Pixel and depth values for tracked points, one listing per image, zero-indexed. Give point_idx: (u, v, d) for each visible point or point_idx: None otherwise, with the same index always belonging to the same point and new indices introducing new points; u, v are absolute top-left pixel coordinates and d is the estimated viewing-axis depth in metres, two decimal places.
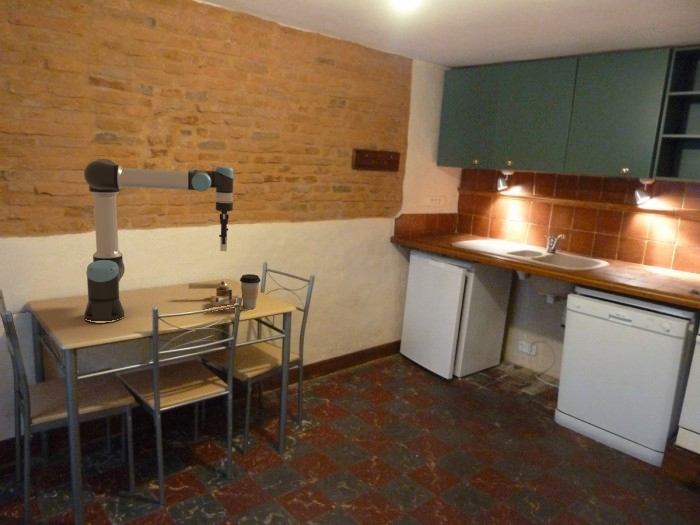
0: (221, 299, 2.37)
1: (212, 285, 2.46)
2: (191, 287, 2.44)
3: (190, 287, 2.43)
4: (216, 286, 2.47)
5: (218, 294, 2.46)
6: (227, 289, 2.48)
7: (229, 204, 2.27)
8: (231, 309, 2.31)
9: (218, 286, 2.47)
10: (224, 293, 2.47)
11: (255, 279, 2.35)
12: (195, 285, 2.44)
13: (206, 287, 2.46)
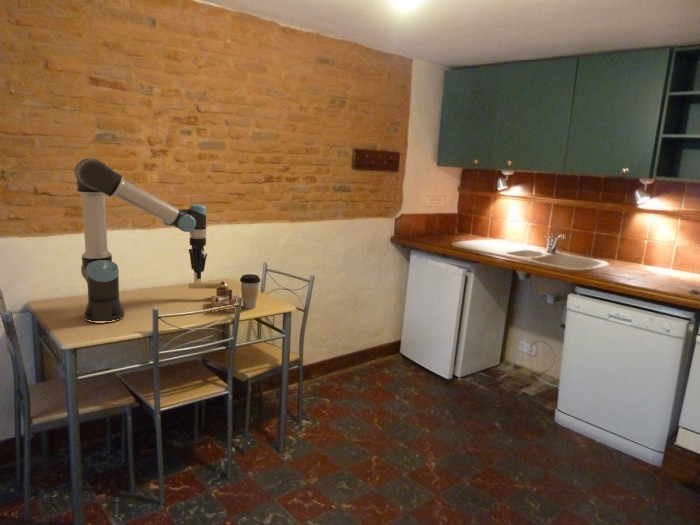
0: (221, 299, 2.37)
1: (212, 285, 2.46)
2: (191, 287, 2.44)
3: (190, 287, 2.43)
4: (216, 286, 2.47)
5: (218, 294, 2.46)
6: (227, 289, 2.48)
7: None
8: (231, 309, 2.31)
9: (218, 286, 2.47)
10: (224, 293, 2.47)
11: (255, 279, 2.35)
12: (195, 285, 2.44)
13: (206, 287, 2.45)
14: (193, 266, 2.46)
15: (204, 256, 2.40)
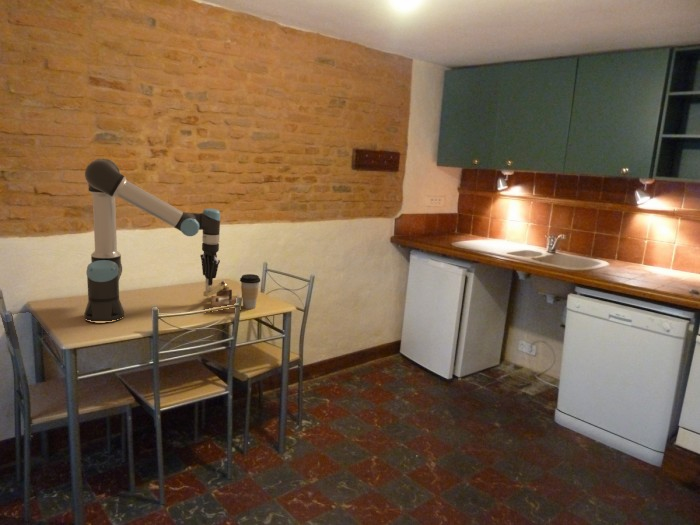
0: (221, 299, 2.37)
1: (220, 287, 2.43)
2: (209, 294, 2.35)
3: (209, 295, 2.34)
4: (222, 287, 2.46)
5: (218, 294, 2.46)
6: (227, 289, 2.48)
7: None
8: (231, 309, 2.31)
9: (223, 287, 2.46)
10: (224, 293, 2.47)
11: (255, 279, 2.35)
12: (211, 291, 2.36)
13: (217, 291, 2.41)
14: (205, 272, 2.39)
15: (217, 262, 2.33)
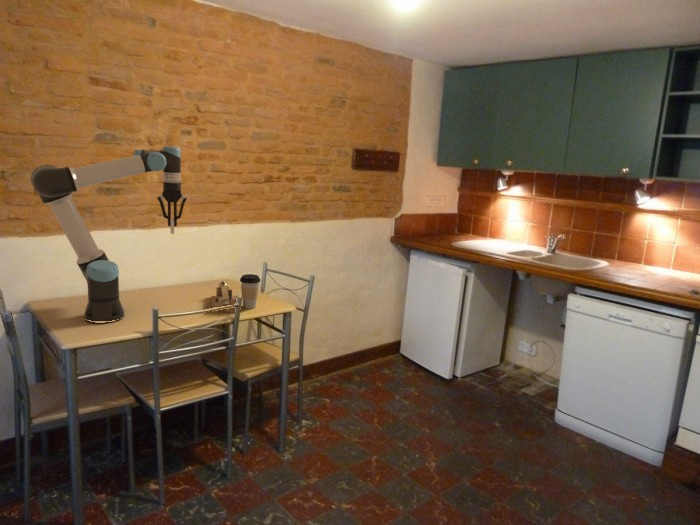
0: (221, 299, 2.37)
1: None
2: (227, 295, 2.35)
3: (227, 295, 2.35)
4: (225, 287, 2.46)
5: (218, 294, 2.46)
6: (227, 289, 2.48)
7: (164, 183, 2.26)
8: (231, 309, 2.31)
9: (225, 286, 2.47)
10: None
11: (255, 279, 2.35)
12: None
13: None
14: None
15: None
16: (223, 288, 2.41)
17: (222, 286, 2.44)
